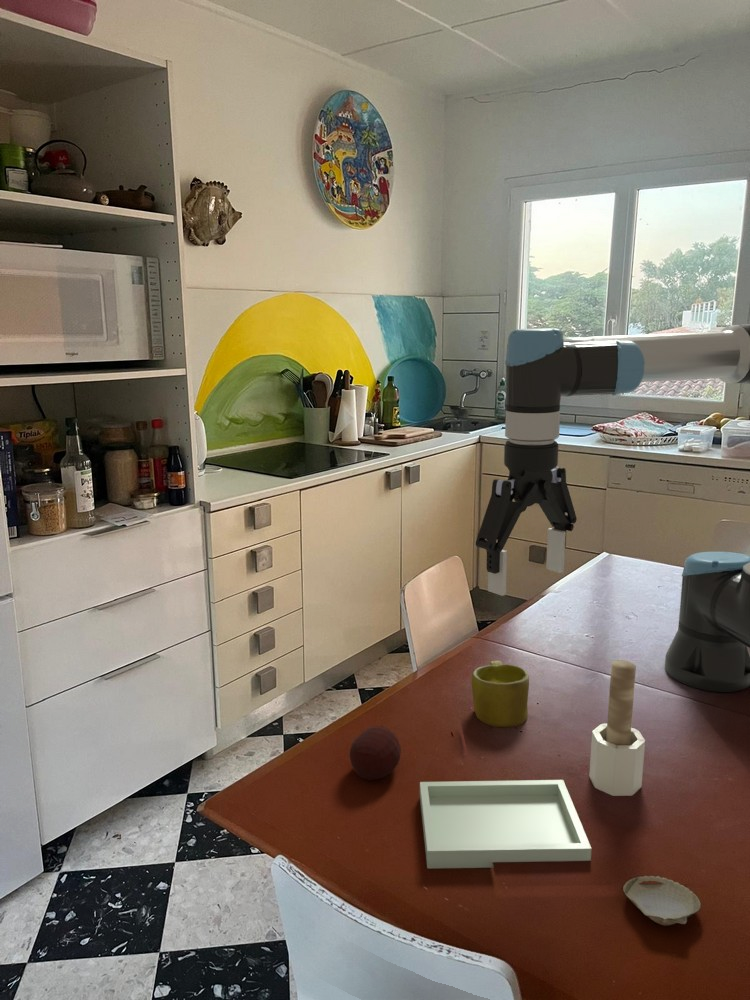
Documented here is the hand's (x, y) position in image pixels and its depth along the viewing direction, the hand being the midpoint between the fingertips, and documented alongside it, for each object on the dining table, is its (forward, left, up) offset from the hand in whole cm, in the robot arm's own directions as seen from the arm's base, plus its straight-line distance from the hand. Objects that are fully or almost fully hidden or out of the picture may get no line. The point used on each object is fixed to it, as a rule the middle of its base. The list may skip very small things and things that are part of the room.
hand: (527, 581), depth 114 cm
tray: (+7, +20, -27) cm, 34 cm away
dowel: (-11, +11, -26) cm, 31 cm away
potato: (+23, +6, -27) cm, 36 cm away
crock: (-11, +11, -27) cm, 31 cm away
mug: (+2, -10, -27) cm, 29 cm away
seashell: (-9, +34, -28) cm, 45 cm away
